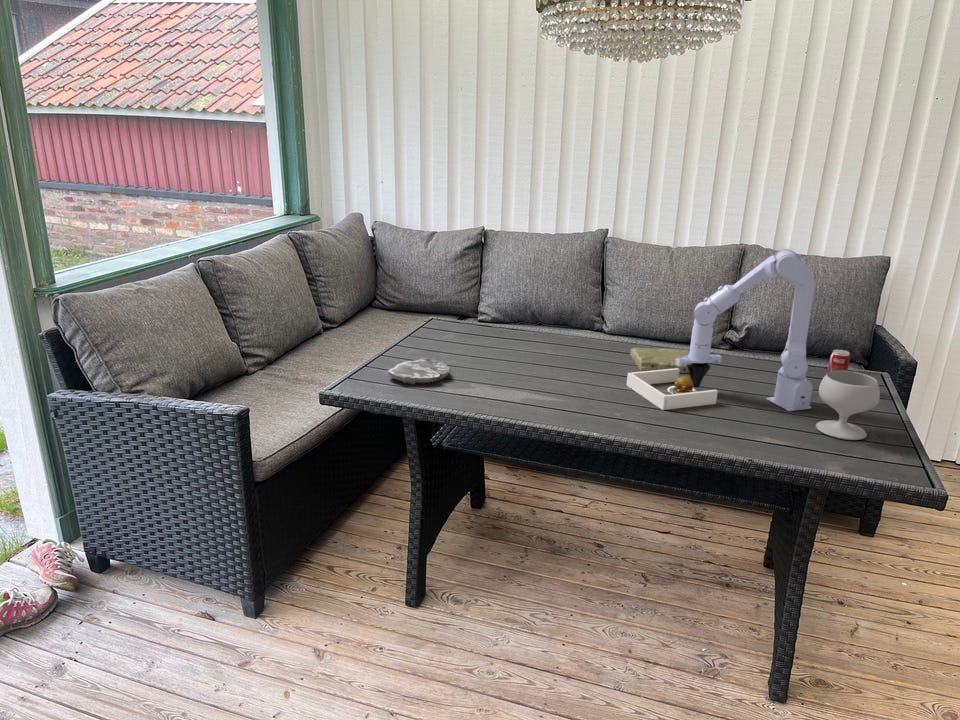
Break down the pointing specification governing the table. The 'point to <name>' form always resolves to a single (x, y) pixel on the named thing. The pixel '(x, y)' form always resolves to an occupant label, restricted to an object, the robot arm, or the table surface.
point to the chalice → (847, 401)
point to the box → (665, 402)
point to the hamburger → (682, 385)
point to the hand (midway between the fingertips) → (695, 386)
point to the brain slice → (420, 371)
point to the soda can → (839, 360)
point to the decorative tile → (658, 359)
